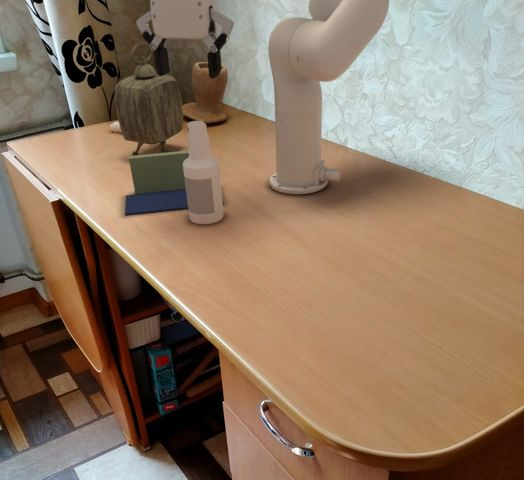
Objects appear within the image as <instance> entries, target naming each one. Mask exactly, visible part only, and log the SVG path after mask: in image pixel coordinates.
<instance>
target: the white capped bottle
mask: <svg viewBox="0 0 524 480" xmlns="http://www.w3.org/2000/svg"><path fill="white" fill-rule="evenodd" d="M186 127H187V136H186V137H187V138H186V139H187V146H188V148H187V149H188V150H187V151H189V157H188V158H187V159H185V161H184V162H183V171H184V179H185V187H186V195H187V203H188V209H187V210H188V217H189V220H190V221H191V222H192V223H194V224H197V225H210V224H215V223H217V222H220V221H221V220H222V219H223V217H224V214H225V213H224V205H223V203H224V200H223V191H222V190H223V189H222V180H221V179H222V178H221V168H220V161H219V158H218V157H216V156H214V155H212V152H211V146H210V137H209V133H208V127H207V123H204V122H203V121H195V120H192V121H189V122H187V124H186ZM222 200H223V201H222Z"/></svg>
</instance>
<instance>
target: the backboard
mask: <svg viewBox="0 0 524 480" xmlns="http://www.w3.org/2000/svg"><path fill="white" fill-rule="evenodd" d="M188 157H189V151H188V150H180V151H179V150H178V151H167V153H161V152H160V153H159V152H158V153H148V154H147V153H146V154H139V155H136V156H132V155H129V156H128V161H129V167H130V174H131V178H132V184H133V190H134V194H143V193H153V192H162V191H172V190H181V189H186V187H185V179H184V171H183V162H184V161H185V159H187V158H188Z"/></svg>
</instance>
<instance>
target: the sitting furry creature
mask: <svg viewBox="0 0 524 480" xmlns="http://www.w3.org/2000/svg"><path fill="white" fill-rule="evenodd" d="M109 126H110V130H111V131H112V132H114V133H120V134H122V132H121V129H120V125H119V121H114V122H112V123H110V125H109Z"/></svg>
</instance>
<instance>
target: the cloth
mask: <svg viewBox="0 0 524 480" xmlns="http://www.w3.org/2000/svg"><path fill="white" fill-rule="evenodd" d="M222 201H223V206H224V200H223V199H222ZM124 205H125V207H124V216H134V215H135V216H136V215H143V214H150V213H151V214H153V213H162V212H163V213H164V212H171V211H183V210H188V203H187V195H186V189H181V190H172V191H162V192H153V193H143V194H135V193H134V194H126V195H125V204H124Z"/></svg>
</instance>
